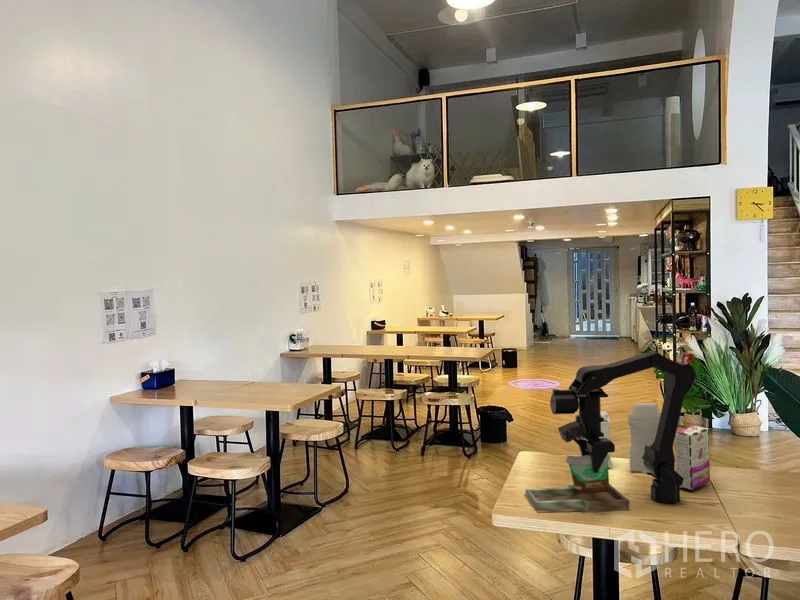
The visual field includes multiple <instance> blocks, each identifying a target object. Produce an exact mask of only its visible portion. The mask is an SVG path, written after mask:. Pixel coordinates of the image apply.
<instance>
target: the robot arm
mask: <svg viewBox="0 0 800 600" xmlns="http://www.w3.org/2000/svg"><path fill="white" fill-rule="evenodd" d="M651 368H653V369H656V370H658V371H660V372H661V373H663V385H664V390H665V395H664V400H663V404H662V408H661V411H660V413H661V416H660V420H659V424H658V429H657V433H656V437H655V441H654V443H653V444H652V445H651V446H647V445H645V450H644V455H643V457H642V459H643V460H644V462H643V463H644V466H645V468H646V469H647V470H648V471H650V476H651V477H653V478H652V479H651V480H652V481H651V482H652V483H651V484H650V499H651V501H653V502H654V503H655V504H656V503H657V504H664V505H675V504H677V503H680V502H681V487H680V486H681V485H682V483H683V480H684V478H683V477H682V476H680V475H679V474H678V473H677V472H676V456H675V453H674V444H675V435H676V432H677V430H678V427H679V423H680V417H681V413H682V409H683V404H684V400H685V397H686V395H687V394H688V393H689V392H690V391H691V390H692V388H693V386H694V383H695V381H696V379H697V371H696V370H695V369H694V367H693V366H691V365H689V364H687V363H683V362H680V361H674V360H673V359H670V358H668V357H666V356H664V355H662V354H661V353H660V352H656V351H653V350H648V351H646V352H644V353H641V354H638V355H634V356H630V357H628V358H625V359H621V360H618V361H614V362H612V363H611V362H610V363H608V364H597V365H596V364H595V365H588V366H587V365H586V366H582V367H579V368H578V369H577V372H576V374H575V378H574V380H572V382H571V384H570V385H569V387H568V388H567V389H559V388H558V389H557V388H554V389H552V393H551V396H550V399H549V402H550V403H549V404H550V411H551V413H552V414H553V415H571V414H573V415H574V414H575V413H576V412H578V414H576V416H575V420H573V421H572V422H569V423H566V424H564V425H561V426H559V427H558V428H557V429H558V433H559V435H560V437H561V439H562V440H563V441H564V443H565V442H566V443H569V442H572V441H573V442H575V443H576V444H577V445H578V448H579V451H580V454H581V455H580V456H583V455H587V454H590V456H591V462H592V468H593V472H594V473H598V471H599V469H600V467H601V465H602V463H603V461H604V459H605V457H606V456H607V454H608V453H609V452H610V453H614V452H615V451H616V447H615V443H614V442H612V440H611V439H610V440H608V439H607V438H599V437H604V433H603V432H601V422H604V421H603V418H602V417H601V411H602V410H601V398H609V394H608V393H606V392H605V391H604V389H603V388H604V387H606V386H607V385H608V384H609V383H610V382H612V381H614V380H615V379H618V378H622V377H626V376H628V375H629V376H630V375H633V374H635V373H639V372H642V371H645V370H648V369H651Z"/></svg>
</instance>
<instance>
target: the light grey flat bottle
mask: <svg viewBox="0 0 800 600" xmlns="http://www.w3.org/2000/svg"><path fill="white" fill-rule="evenodd" d="M631 407H632V408H631V411H630V413H628V415H627V416H628V417H627V421H628V426H629V427H630V428H629V431H630V443H631V444H630V448H629V471H630V472H632V473H633V472H634V473H645V474H646V473H648V474H649V473H650V471H648V470H647V469H646V468H645V466H644V463H643V462H644V460H643V459H642V457H643V455H644V450H645V445H647V446H651V445H652V444H653V443H654V441H655V437H656V433H657V429H658V424H659V420H660V416H661V411H660V409H659V407H658V404H657V403H650V402H641V403H640V402H639V403H634V404H632V406H631Z"/></svg>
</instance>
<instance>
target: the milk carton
mask: <svg viewBox="0 0 800 600" xmlns="http://www.w3.org/2000/svg"><path fill="white" fill-rule="evenodd" d="M609 416H610V415H609V413H608V412H606V411H605V410H603V411H602V410H601V417H602V418H603V421H604V422H601V432H603V433H604V437H599V438H607V439H608V440H610V441H611V420H610V417H609ZM608 454H609V457H610V460H608V469H610V468H611V466H612V465H611V461H612V460H611V452H609V453H608Z"/></svg>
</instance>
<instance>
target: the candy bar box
mask: <svg viewBox="0 0 800 600" xmlns="http://www.w3.org/2000/svg"><path fill="white" fill-rule="evenodd" d="M709 431H710V430H709V427H703V426H698V425H692V426H689V427H686V428H684V429H681V430H678V431H676V435H675V439H674V444H675V446H674V447H675V449H674V450H675V471H676V472H677V473H678V474H679V475H680V476H682V477H683V478H684V480H683V483H682V485H681V486H680V489H681V488H682V489H685V490H686V489H687V490H689V491H693V490H696V489H697V488H700V487H701V486H704V485H705V484H707V483H709V482H711V480H710V479H711V474H710V471H711V470H710V436H709V435H710V434H709Z"/></svg>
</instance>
